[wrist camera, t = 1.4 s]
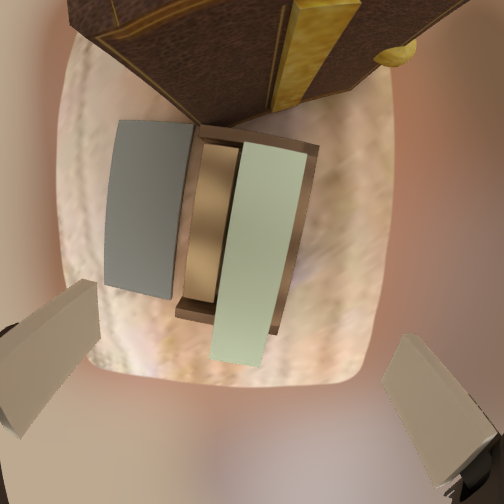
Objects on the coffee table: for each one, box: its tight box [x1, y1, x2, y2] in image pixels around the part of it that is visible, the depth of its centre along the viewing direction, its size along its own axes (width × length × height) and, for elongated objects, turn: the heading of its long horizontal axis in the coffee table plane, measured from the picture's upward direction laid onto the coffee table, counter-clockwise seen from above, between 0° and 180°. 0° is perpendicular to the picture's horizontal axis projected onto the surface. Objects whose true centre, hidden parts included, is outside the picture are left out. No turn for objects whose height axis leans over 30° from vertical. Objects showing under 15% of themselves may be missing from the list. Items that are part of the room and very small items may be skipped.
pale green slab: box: [209, 142, 307, 367], centre depth 26 cm, size 16×4×15 cm, turn 170°
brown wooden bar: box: [183, 144, 241, 303], centre depth 30 cm, size 17×4×5 cm, turn 170°
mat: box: [104, 120, 195, 300], centre depth 32 cm, size 22×10×1 cm, turn 170°
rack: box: [175, 125, 319, 335], centre depth 30 cm, size 20×12×6 cm, turn 170°
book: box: [67, 0, 469, 128], centre depth 16 cm, size 22×8×25 cm, turn 111°
